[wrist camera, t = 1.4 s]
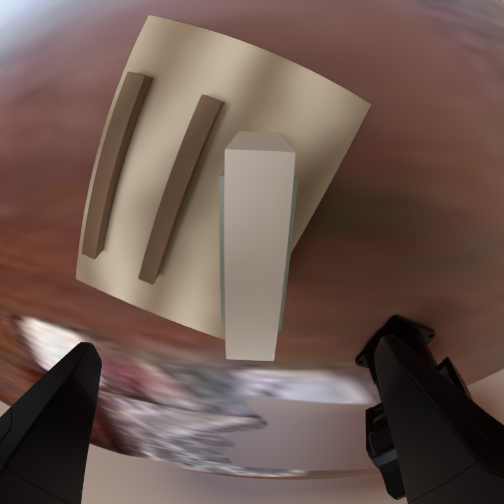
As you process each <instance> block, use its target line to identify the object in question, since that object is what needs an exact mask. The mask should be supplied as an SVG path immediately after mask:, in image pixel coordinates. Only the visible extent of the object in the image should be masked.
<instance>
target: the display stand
mask: <svg viewBox="0 0 504 504" xmlns="http://www.w3.org/2000/svg"><path fill="white" fill-rule="evenodd" d="M370 106H371V104H370V103H368V102H366V101H365V100H363V99H362V98H360V97H358V96H357V95H355V94H353V93H351V92H350V91H348V90H346V89H344V88H343V87H341V86H339V85H337V84H335V83H334V82H332V81H330V80H328V79H326V78H324V77H322V76H320V75H318V74H317V73H315V72H313V71H311V70H309V69H306V68H304V67H302V66H300V65H298V64H296V63H294V62H292V61H289V60H287V59H285V58H283V57H280V56H278V55H276V54H273V53H271V52H269V51H266V50H264V49H261V48H259V47H256V46H254V45H251V44H248V43H246V42H243V41H240V40H237V39H235V38H232V37H229V36H226V35H223V34H220V33H217V32H214V31H210V30H207V29H204V28H200V27H197V26H193V25H189V24H186V23H182V22H178V21H174V20H169V19H165V18H160V17H156V16H151V15H149V16H148V18H147V20H146V22H145V24H144V26H143V29H142V31H141V33H140V35H139V37H138V39H137V41H136V44H135V46H134V48H133V50H132V53H131V55H130V57H129V60H128V62H127V64H126V67H125V69H124V72H123V74H122V77H121V80H120V82H119V85H118V88H117V90H116V93H115V96H114V99H113V102H112V105H111V108H110V111H109V114H108V117H107V120H106V123H105V127H104V130H103V134H102V137H101V141H100V144H99V148H98V152H97V156H96V160H95V164H94V168H93V172H92V176H91V181H90V186H89V190H88V195H87V201H86V206H85V212H84V217H83V224H82V230H81V237H80V245H79V253H78V262H77V272H76V279H78V280H80V281H82V282H84V283H86V284H88V285H90V286H92V287H94V288H97V289H99V290H101V291H103V292H105V293H107V294H110V295H112V296H114V297H116V298H119V299H121V300H123V301H125V302H128V303H130V304H132V305H135V306H137V307H140V308H142V309H144V310H147V311H149V312H152V313H154V314H157V315H159V316H162V317H164V318H167V319H169V320H172V321H174V322H177V323H179V324H182V325H185V326H187V327H190V328H193V329H196V330H198V331H201V332H204V333H207V334H209V335H212V336H215V337H218V338H221V339H224V340H226V334H225V328H221V294H220V238H219V176H220V174H221V172H222V170H223V169H224V167H225V149H226V147H227V146H228V145H229V143H230V142H231V141H232V140H233V138H234V137H235V136H236V135H237V133H238V132H239V131H253V132H274V133H280V134H281V135H282V136H283V138H284V139H285V140H286V141H287V143H288V144H289V145H290V146H291V148H292V149H293V150H294V151H295V167H294V173H295V175H296V177H297V179H298V184H297V195H296V206H295V216H294V226H293V236H292V246H291V252H292V251H293V249H294V247H295V245H296V244H297V242H298V240H299V238H300V237H301V235H302V233H303V231H304V230H305V228H306V226H307V224H308V222H309V221H310V219H311V217H312V215H313V213H314V212H315V210H316V208H317V206H318V204H319V203H320V201H321V199H322V197H323V195H324V194H325V192H326V190H327V188H328V186H329V184H330V183H331V181H332V179H333V177H334V175H335V173H336V171H337V170H338V168H339V166H340V164H341V162H342V160H343V158H344V156H345V155H346V153H347V151H348V149H349V147H350V145H351V143H352V141H353V139H354V137H355V135H356V134H357V132H358V130H359V128H360V126H361V124H362V122H363V120H364V118H365V116H366V114H367V112H368V110H369V108H370Z"/></svg>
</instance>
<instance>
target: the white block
mask: <svg viewBox="0 0 504 504" xmlns="http://www.w3.org/2000/svg"><path fill="white" fill-rule="evenodd" d="M294 167H295V151H294V150H293V149H292V148H291V146H290V145H289V144H288V143H287V141H286V140H285V139H284V138H283V136H282V135H281V134H280V133H274V132H253V131H239V132H238V133H237V135H236V136H235V137H234V138H233V140H232V141H231V142H230V143H229V145H228V146H227V147H226V149H225V167H224V169H223V170H222V172H221V174H220V176H219V238H220V294H221V328H225V334H226V359H238V360H262V361H274V356H275V349H276V341H277V333H278V331H281V328H282V321H283V313H284V305H285V297H286V289H287V281H288V272H289V264H290V255H291V246H292V236H293V226H294V216H295V206H296V195H297V184H298V179H297V177H296V175H295V173H294Z"/></svg>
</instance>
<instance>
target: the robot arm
mask: <svg viewBox="0 0 504 504" xmlns="http://www.w3.org/2000/svg"><path fill="white" fill-rule="evenodd" d="M434 336H435V332H434V331H433V330H432V329H429V328H427V327H424V326H422V325H419V324H416V323H414V322H411V321H409V320H406V319H404V318H401V317H399V316H394V317H392V318H391V319H390V320H389V321H388V322H387V324H386V325H385V326H384V327H383V328H382V330H381V331H380V332H379V333H378V334H377V336H376V337H375V338H374V339H373V340H372V341H371V342H370V344H369V345H368V346H367V347H366V348H365V349H364V350H363V351H362V353H361V354H360V355H359V356H358V357H357V358H356V359H355V362H356V365H358V366H362V367H366V368H369V370H370V373H371V377H372V380H373V383H374V384H376V387H377V390H378V393H379V396H380V399H381V401H382V402H381V403H379V404H377V405H376V406H374V407H370V408H369V409H367V410H366V450H367V452H368V456H369V458H371V460H372V461H373V463H374V464H375V466H376V467H377V468H379V469H380V472H381V474H382V476H383V479H384V482H385V486H386V489H387V492H388V494H389V495H391V496H392V497H393V498H394V499H396V500H399V499H401V498H404V497H406V498H407V502H408V504H504V425H503V424H502V423H500V422H499V421H497V420H496V419H495V418H493V417H492V416H490V415H489V414H488V413H486V412H485V411H484V410H483V409H482V408H481V407H479V406H478V405H477V404H476V403H475V402H473V400H472V397H471V395H470V392H469V391H468V388H467V386H466V385H465V383H464V381H463V379H462V377H461V375H460V374H459V372H458V371H457V369H456V368H455V366H454V365H453V363H452V362H451V360H450V359H449V357H447V358H445V359H444V360H443V362H442V363H440V364H439V365H437V363H436V361H435V359H434V357H433V355H432V353H431V351H430V350H429V348H428V346H427V344H428V343H429V342H430V341H431V340H432V339H433V337H434ZM101 368H102V361H101V358H100V356H99V354H98V352H97V351H96V349H95V347H94V345H93V344H92V343H89V342H80V343H79V344H78V345H77V346H75V347H74V348H73V349H72V350H71V351H70V352H69V353H68V354H67V355H65V356H64V357H63V358H62V359H61V360H60V361H59V362H58V363H57V364H56V365H55V366H53V367H52V368H51V369H50V370H49V371H48V372H47V373H46V374H45V375H44V376H43V377H42V378H41V379H39V380H38V381H37V382H36V383H35V384H34V385H33V386H32V387H31V388H30V389H29V390H28V391H27V392H26V393H25V394H24V395H23V396H22V397H21V398H20V399H19V400H18V401H17V402H15V403H14V404H13V405H12V407H10V408H9V409H8V410H7V411H6V412H5V413H4V414H3V415H2V416H1V417H0V504H81V499H82V490H83V482H84V474H85V467H86V460H87V454H88V448H89V442H90V437H91V432H92V426H93V421H94V417H95V412H96V407H97V400H98V391H99V383H100V375H101Z"/></svg>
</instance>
